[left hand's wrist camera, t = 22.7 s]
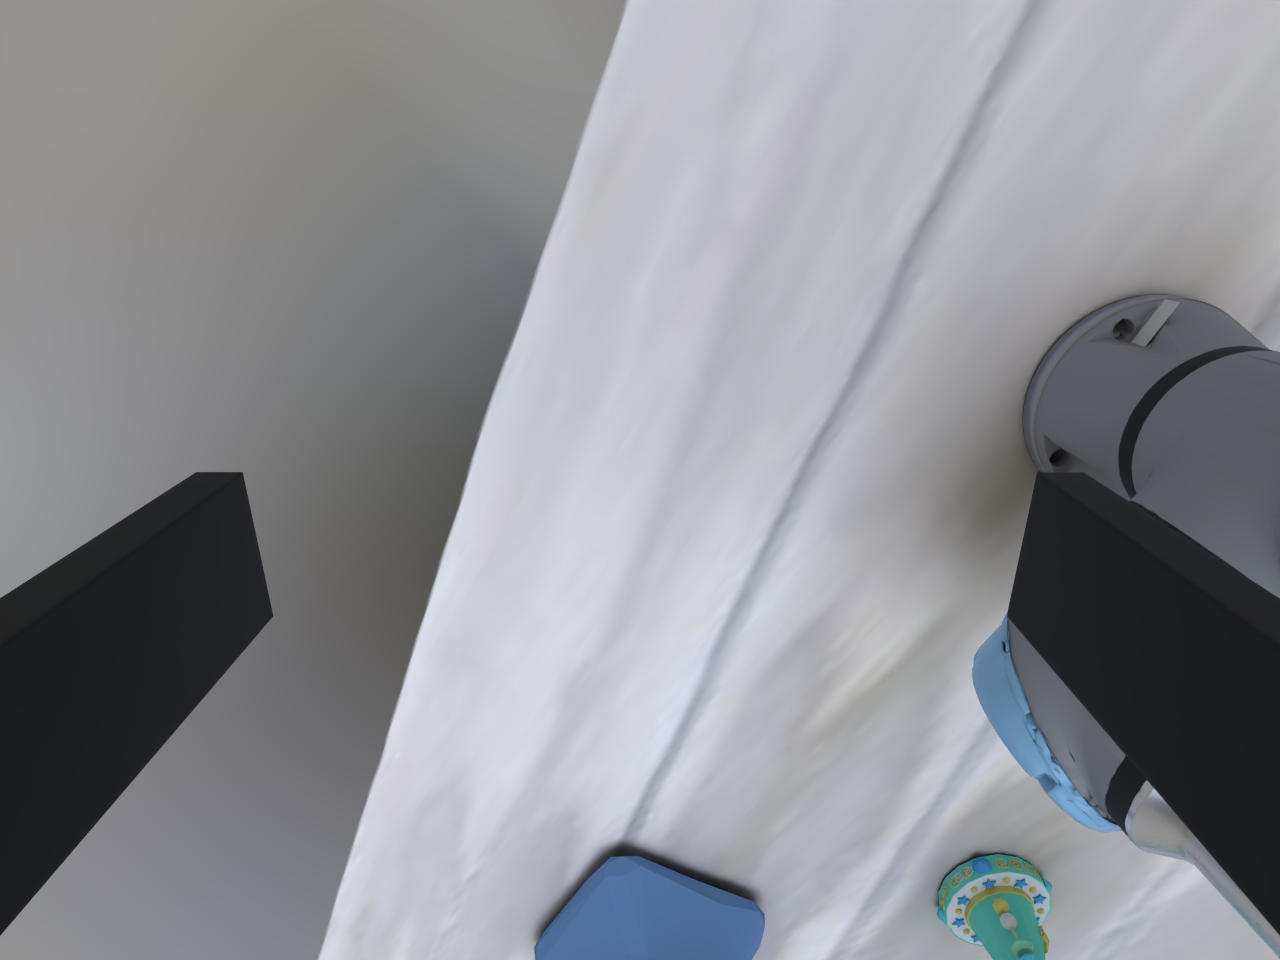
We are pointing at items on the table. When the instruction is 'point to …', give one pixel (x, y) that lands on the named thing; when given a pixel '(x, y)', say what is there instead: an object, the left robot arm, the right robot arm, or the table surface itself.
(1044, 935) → the decorative hourglass
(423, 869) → the table surface
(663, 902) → the figurine
